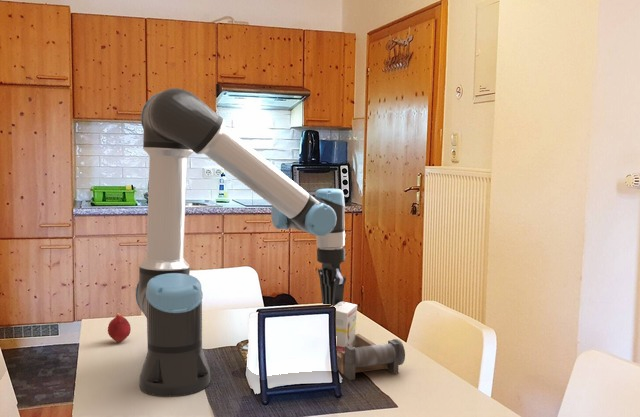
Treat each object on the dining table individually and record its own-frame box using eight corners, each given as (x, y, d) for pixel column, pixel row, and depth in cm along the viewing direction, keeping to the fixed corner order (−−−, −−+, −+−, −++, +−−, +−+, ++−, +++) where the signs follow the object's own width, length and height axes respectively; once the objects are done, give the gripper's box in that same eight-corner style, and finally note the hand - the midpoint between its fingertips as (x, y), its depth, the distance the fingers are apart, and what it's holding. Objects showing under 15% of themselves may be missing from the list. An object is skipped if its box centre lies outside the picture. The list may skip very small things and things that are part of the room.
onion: (134, 339, 165) (133, 310, 164) (125, 346, 159) (125, 316, 159) (113, 338, 166) (113, 310, 165) (104, 345, 160) (103, 315, 159)
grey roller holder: (353, 382, 135) (353, 349, 135) (314, 352, 156) (315, 323, 155) (404, 374, 140) (405, 343, 140) (361, 346, 161) (361, 318, 161)
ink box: (344, 358, 152) (347, 312, 150) (326, 354, 154) (328, 309, 152) (355, 346, 160) (358, 303, 158) (338, 343, 161) (340, 300, 160)
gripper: (354, 249, 157) (355, 337, 160) (333, 242, 169) (335, 324, 172) (328, 252, 154) (329, 342, 157) (308, 244, 166) (310, 328, 169)
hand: (332, 332), depth 164 cm, fingers closed
